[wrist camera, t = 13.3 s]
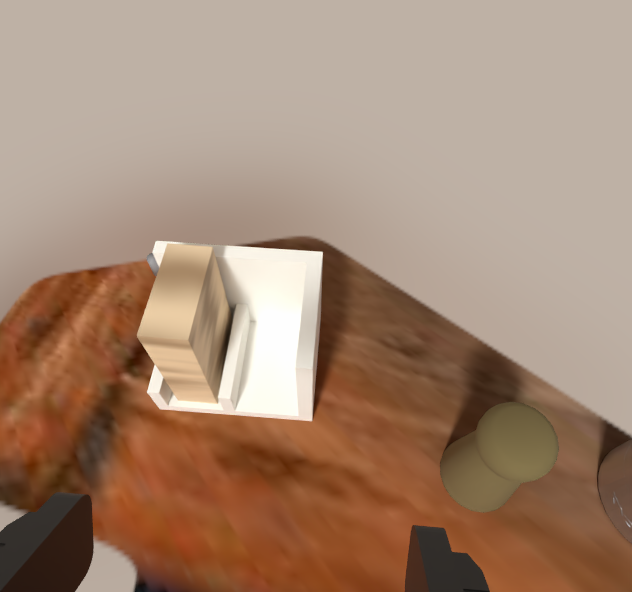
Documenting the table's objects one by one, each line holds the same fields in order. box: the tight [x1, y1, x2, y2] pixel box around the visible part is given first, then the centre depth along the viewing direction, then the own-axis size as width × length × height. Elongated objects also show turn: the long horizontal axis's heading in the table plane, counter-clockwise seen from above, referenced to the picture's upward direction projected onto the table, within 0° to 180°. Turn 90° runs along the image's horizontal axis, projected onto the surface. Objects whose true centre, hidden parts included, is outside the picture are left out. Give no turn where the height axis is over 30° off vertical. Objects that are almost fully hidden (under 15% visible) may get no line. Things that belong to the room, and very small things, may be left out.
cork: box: [440, 402, 559, 513], centre depth 36 cm, size 6×6×11 cm
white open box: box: [147, 241, 323, 421], centre depth 41 cm, size 10×15×11 cm
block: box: [137, 243, 233, 404], centre depth 39 cm, size 8×4×12 cm, turn 175°
